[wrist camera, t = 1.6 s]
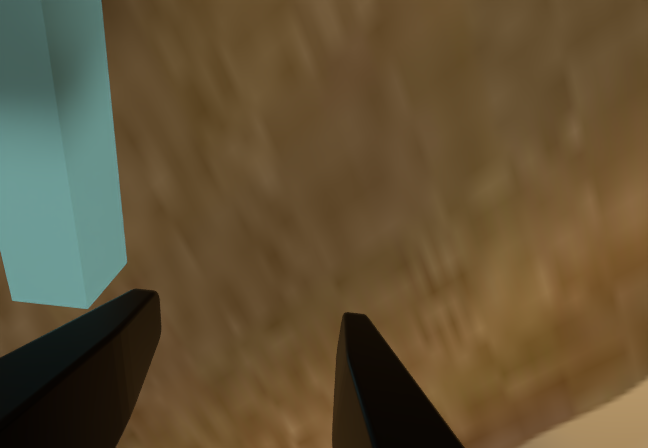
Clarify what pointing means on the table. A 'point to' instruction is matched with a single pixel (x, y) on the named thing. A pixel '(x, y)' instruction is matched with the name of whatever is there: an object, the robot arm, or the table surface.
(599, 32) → the table surface
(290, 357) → the table surface
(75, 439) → the robot arm
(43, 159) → the hinged leg
